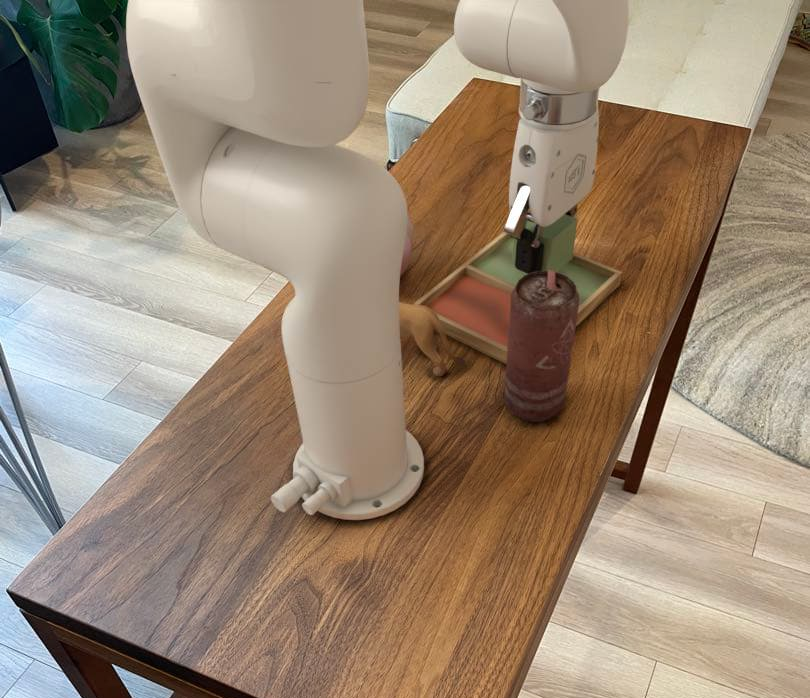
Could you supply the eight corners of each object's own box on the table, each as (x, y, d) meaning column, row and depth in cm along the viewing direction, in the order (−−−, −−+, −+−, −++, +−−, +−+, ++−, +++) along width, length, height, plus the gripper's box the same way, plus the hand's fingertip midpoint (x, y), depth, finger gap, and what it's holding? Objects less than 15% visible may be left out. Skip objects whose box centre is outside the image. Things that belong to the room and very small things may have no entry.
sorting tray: (526, 374, 88) (527, 361, 86) (412, 318, 94) (411, 305, 93) (620, 285, 96) (622, 271, 95) (509, 239, 103) (510, 226, 101)
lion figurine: (329, 358, 91) (319, 289, 83) (346, 328, 94) (337, 258, 86) (459, 382, 87) (460, 312, 80) (472, 350, 90) (474, 279, 83)
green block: (548, 280, 93) (552, 240, 89) (511, 264, 95) (514, 224, 91) (572, 258, 95) (578, 218, 91) (536, 243, 97) (540, 203, 93)
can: (563, 382, 87) (579, 266, 76) (563, 425, 83) (581, 310, 72) (504, 380, 87) (512, 264, 76) (502, 423, 84) (511, 308, 72)
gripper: (541, 145, 75) (526, 310, 90) (638, 72, 83) (610, 235, 97) (474, 121, 78) (471, 284, 93) (573, 53, 86) (556, 214, 100)
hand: (542, 258), depth 95 cm, fingers closed on green block, 5 cm apart
